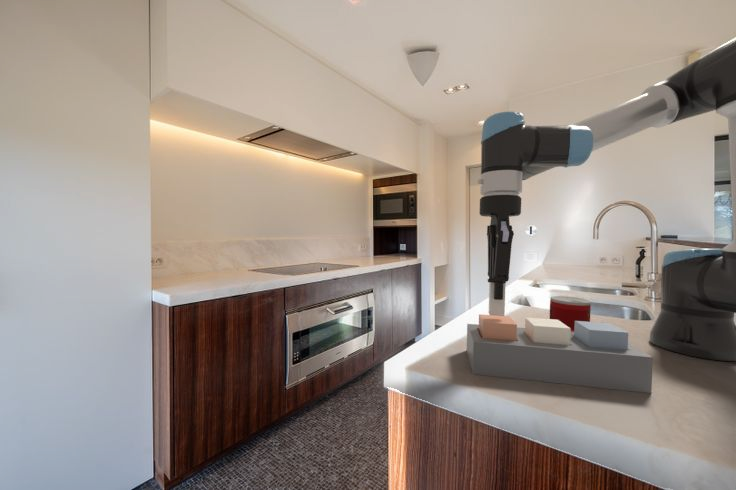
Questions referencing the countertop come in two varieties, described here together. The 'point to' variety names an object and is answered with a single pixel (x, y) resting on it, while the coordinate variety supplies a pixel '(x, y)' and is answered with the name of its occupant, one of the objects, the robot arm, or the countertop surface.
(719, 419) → the countertop surface
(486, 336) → the terracotta key
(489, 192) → the robot arm
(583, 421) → the countertop surface
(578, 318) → the canned food
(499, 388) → the countertop surface
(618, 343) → the slate key
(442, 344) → the countertop surface
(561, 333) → the ivory key
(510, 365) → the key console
